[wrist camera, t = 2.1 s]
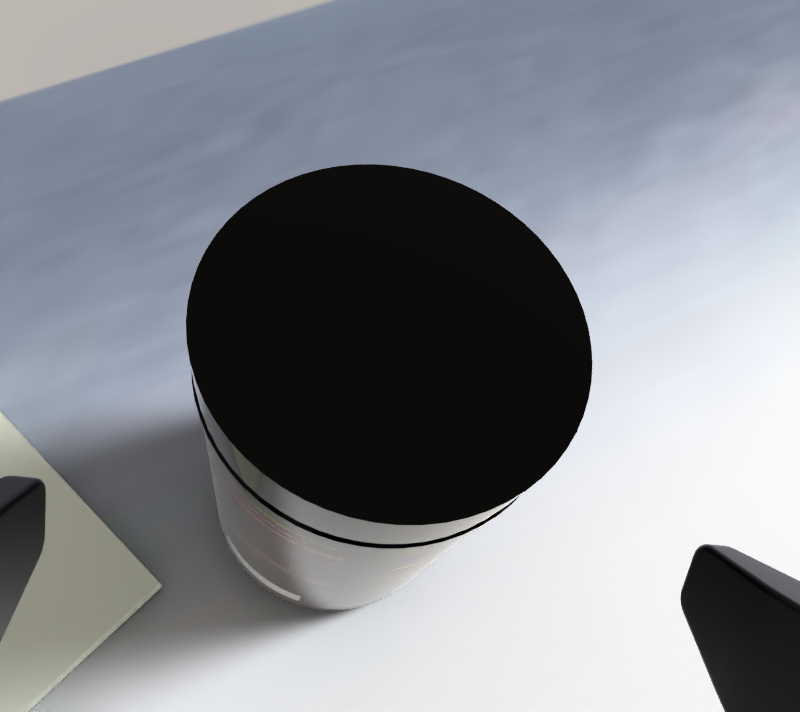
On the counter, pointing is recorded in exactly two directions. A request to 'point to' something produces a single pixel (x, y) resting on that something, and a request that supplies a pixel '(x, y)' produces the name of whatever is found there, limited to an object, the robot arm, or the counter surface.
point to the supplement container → (377, 376)
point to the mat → (63, 585)
